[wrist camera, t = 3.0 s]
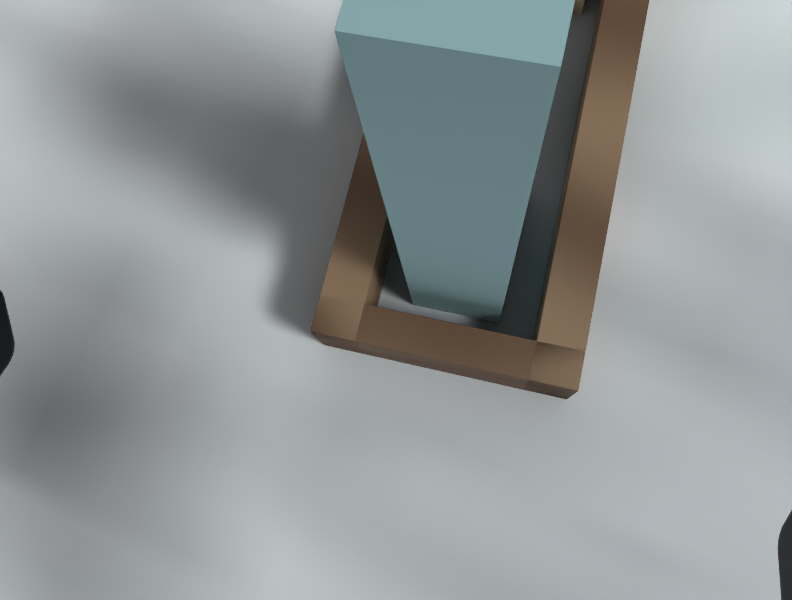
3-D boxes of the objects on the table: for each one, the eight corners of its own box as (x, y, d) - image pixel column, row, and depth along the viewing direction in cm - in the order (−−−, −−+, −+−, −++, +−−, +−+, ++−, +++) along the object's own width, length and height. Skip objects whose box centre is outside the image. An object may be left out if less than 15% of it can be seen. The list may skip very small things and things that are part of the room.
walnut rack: (566, 399, 19) (577, 390, 17) (325, 345, 20) (310, 331, 18) (676, -195, 24) (695, -255, 22) (472, -217, 25) (473, -275, 23)
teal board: (499, 322, 20) (560, 66, 8) (413, 304, 20) (334, 30, 8) (526, 192, 21) (624, -234, 8) (443, 177, 21) (416, -254, 9)
